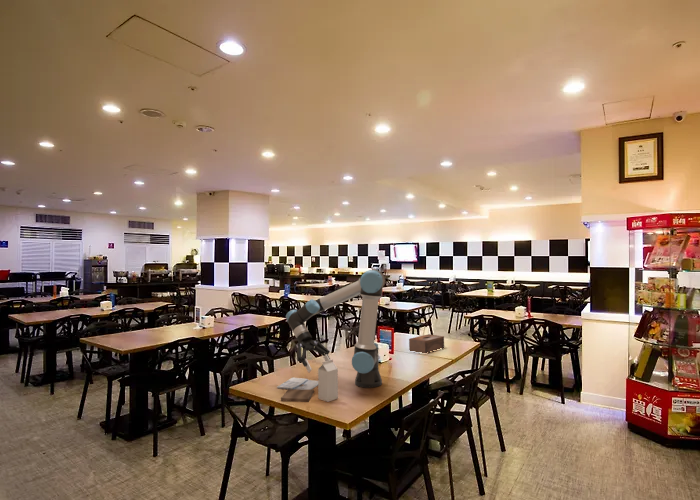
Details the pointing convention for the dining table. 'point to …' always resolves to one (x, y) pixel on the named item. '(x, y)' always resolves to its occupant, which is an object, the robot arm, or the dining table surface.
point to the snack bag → (298, 384)
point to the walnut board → (297, 395)
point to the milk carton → (328, 381)
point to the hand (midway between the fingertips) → (320, 368)
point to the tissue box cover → (426, 343)
